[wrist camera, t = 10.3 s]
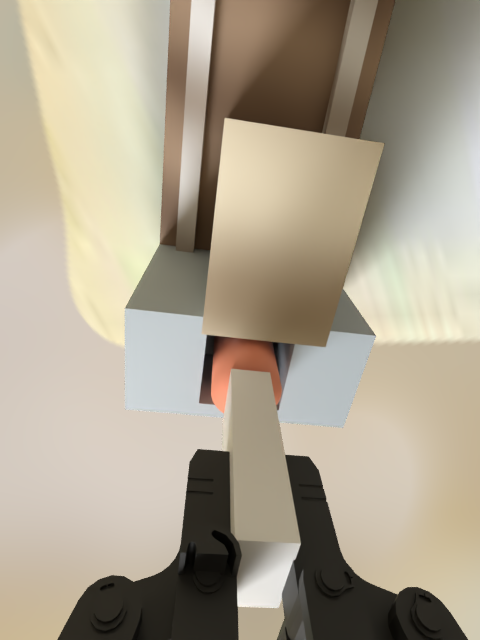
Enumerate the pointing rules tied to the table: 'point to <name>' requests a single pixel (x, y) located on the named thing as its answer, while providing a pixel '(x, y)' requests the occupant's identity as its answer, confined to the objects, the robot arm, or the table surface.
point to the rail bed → (258, 87)
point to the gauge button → (241, 364)
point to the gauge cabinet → (197, 349)
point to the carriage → (284, 231)
